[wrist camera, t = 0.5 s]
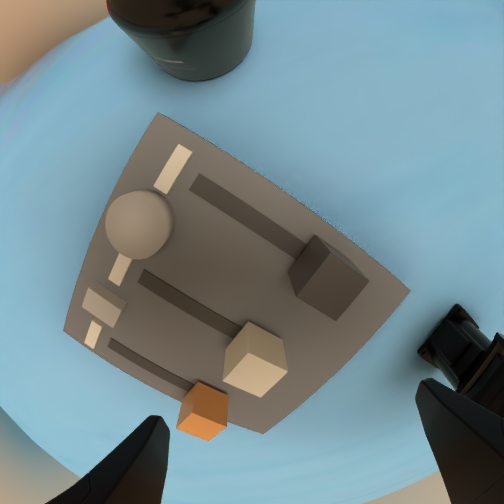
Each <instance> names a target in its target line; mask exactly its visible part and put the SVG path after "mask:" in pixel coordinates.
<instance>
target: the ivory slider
mask: <svg viewBox="0 0 504 504" xmlns="http://www.w3.org/2000/svg"><path fill="white" fill-rule="evenodd" d="M287 372H288V367H287V362H286V356H285V350H284V345H283V340H282V339H280V338H278V337H276V336H275V335H273V334H271V333H269V332H267V331H265V330H263V329H262V328H260V327H258V326H256V325H254V324H252V323H251V322H249V321H248V322H247V324H246V325H245V326H244V327H243V328H242V330H241V331H240V332H239V333H238V335H237V336H236V337H235V338H234V339H233V341H232V342H231V343H230V344H229V345H228V347H227V348H226V352H225V361H224V371H223V381H224V382H226V383H228V384H230V385H232V386H235V387H237V388H239V389H242V390H244V391H246V392H249V393H251V394H253V395H256V396H258V397H262V396H263V395H264V394H265V393H266V392H267V391H268V390H269V389H271V388H272V387H273V386H274V385H275V384H276V383H277V382H278V381H279V380H280V379H281V378H282V377H283V376H284V375H285V374H286V373H287Z"/></svg>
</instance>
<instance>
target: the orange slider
mask: <svg viewBox="0 0 504 504" xmlns="http://www.w3.org/2000/svg"><path fill="white" fill-rule="evenodd" d="M228 400H229V396H228V395H226V394H224V393H221V392H219V391H217V390H215V389H213V388H210V387H208V386H206V385H204V384H202V383H200V382H197V383H196V384H195V386H194V387H193V388H192V389H191V390H190V391H189V392H188V394H187V395H186V396H185V397H184V398H183V400H182V405H181V409H180V413H179V418H178V422H177V426H176V429H179V430H181V431H184V432H186V433H188V434H191V435H193V436H196V437H199V438H201V439H204V440H207V441H209V440H211V439H212V438H213V437H215V436H216V435H217V434H218V433H220V432H221V431H222V430H223V429H225V428H226V427H227V415H228Z"/></svg>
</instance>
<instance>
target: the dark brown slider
mask: <svg viewBox="0 0 504 504" xmlns="http://www.w3.org/2000/svg"><path fill="white" fill-rule="evenodd" d="M288 275H289V278H290V281H291V284H292V287H293V290H294V293H295V296H296V297H297V298H298V299H300V300H302V301H303V302H305V303H307V304H308V305H310V306H312V307H313V308H315V309H316V310H318V311H320V312H321V313H323V314H325V315H326V316H328V317H330V318H331V319H333V320H335V321H337V320H338V319H339V317H340V316H341V315H342V314H343V313H344V312H345V310H346V309H347V308H348V307H349V306H350V305H351V303H352V302H353V301H354V300H355V299H356V297H357V296H358V295H359V294H360V293H361V291H362V290H363V289H364V288H365V286H366V285H367V284H368V283H369V280H368V279H367V278H366V276H365V275H364V274H363V273H362V272H361V271H360V270H359V269H358V268H357V267H356V266H355V265H354V264H353V262H352V261H351V260H350V259H348V258H347V257H346V256H344V255H343V254H342V253H340V252H339V251H338V250H336V249H335V248H334V247H332V246H331V245H330V244H328V243H327V242H325V241H324V240H323V239H321V238H320V237H319V236H317V235H316V234H315V236H314V237H313V239H312V240H311V241H310V243H309V244H308V245H307V247H306V248H305V249H304V251H303V252H302V253H301V255H300V256H299V257H298V258H297V260H296V261H295V262H294V264H293V265H292V266H291V268H290V269H289V270H288Z"/></svg>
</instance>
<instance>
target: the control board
mask: <svg viewBox="0 0 504 504" xmlns="http://www.w3.org/2000/svg"><path fill="white" fill-rule="evenodd" d="M315 234H316V235H317V236H319V237H320V238H321V239H323V240H324V241H325V242H327V243H328V244H330V245H331V246H332V247H334V248H335V249H336V250H338V251H339V252H340V253H342V254H343V255H344V256H346V257H347V258H348V259H350V260H351V261H352V262H353V264H354V265H355V266H356V267H357V268H358V269H359V270H360V271H361V272H362V273H363V274H364V275H365V276H366V278H367V279H368V280H369V283H368V284H367V285H366V286H365V288H364V289H363V290H362V291H361V293H360V294H359V295H358V296H357V297H356V299H355V300H354V301H353V302H352V303H351V305H350V306H349V307H348V308H347V309H346V310H345V312H344V313H343V314H342V315H341V316H340V317H339V319H338V320H337V321H335V320H333V319H331V318H330V317H328V316H326V315H325V314H323V313H321V312H320V311H318V310H316V309H315V308H313V307H312V306H310V305H308V304H307V303H305V302H303V301H302V300H300V299H298V298H297V297H296V296H295V293H294V290H293V287H292V284H291V281H290V278H289V275H288V270H289V269H290V268H291V266H292V265H293V264H294V262H295V261H296V260H297V258H298V257H299V256H300V255H301V253H302V252H303V251H304V249H305V248H306V247H307V245H308V244H309V243H310V241H311V240H312V239H313V237H314V236H315ZM410 291H411V290H409V289H408V288H407V287H406V286H405V285H404V284H403V283H402V282H401V281H399V280H398V279H397V278H396V277H395V276H394V275H392V274H391V273H390V272H389V271H388V270H386V269H385V268H384V267H383V266H382V265H380V264H379V263H378V262H377V261H376V260H374V259H373V258H372V257H371V256H369V255H368V254H367V253H366V252H365V251H363V250H362V249H361V248H359V247H358V246H357V245H356V244H354V243H353V242H352V241H351V240H349V239H348V238H347V237H346V236H344V235H343V234H342V233H340V232H339V231H338V230H336V229H335V228H334V227H332V226H331V225H330V224H329V223H327V222H326V221H325V220H323V219H322V218H321V217H319V216H318V215H316V214H315V213H314V212H312V211H311V210H310V209H308V208H307V207H306V206H304V205H303V204H301V203H300V202H299V201H297V200H296V199H294V198H293V197H292V196H290V195H289V194H287V193H286V192H284V191H283V190H282V189H280V188H279V187H277V186H276V185H274V184H273V183H272V182H270V181H269V180H267V179H266V178H264V177H263V176H261V175H260V174H258V173H257V172H255V171H254V170H252V169H251V168H249V167H248V166H246V165H245V164H243V163H242V162H240V161H239V160H237V159H235V158H234V157H232V156H231V155H229V154H228V153H226V152H224V151H223V150H221V149H220V148H218V147H216V146H215V145H213V144H212V143H210V142H208V141H207V140H205V139H204V138H202V137H200V136H199V135H197V134H195V133H194V132H192V131H190V130H189V129H187V128H185V127H183V126H182V125H180V124H178V123H177V122H175V121H173V120H171V119H170V118H168V117H166V116H164V115H162V114H160V113H158V112H157V114H156V115H155V117H154V118H153V120H152V122H151V123H150V125H149V126H148V128H147V130H146V131H145V133H144V135H143V136H142V138H141V140H140V141H139V143H138V145H137V147H136V148H135V150H134V152H133V154H132V156H131V157H130V159H129V161H128V163H127V165H126V167H125V169H124V171H123V172H122V174H121V176H120V178H119V180H118V182H117V184H116V186H115V188H114V190H113V193H112V195H111V197H110V199H109V201H108V203H107V205H106V208H105V210H104V212H103V214H102V217H101V219H100V221H99V224H98V226H97V228H96V231H95V233H94V236H93V238H92V241H91V243H90V246H89V249H88V251H87V254H86V257H85V259H84V262H83V265H82V268H81V271H80V274H79V277H78V280H77V283H76V286H75V289H74V293H73V296H72V299H71V303H70V306H69V310H68V314H67V317H66V321H65V325H64V329H63V331H64V332H66V333H67V334H68V335H70V336H71V337H72V338H74V339H75V340H76V341H78V342H79V343H81V344H82V345H83V346H85V347H86V348H88V349H89V350H91V351H92V352H94V353H95V354H97V355H98V356H100V357H101V358H103V359H104V360H106V361H107V362H109V363H111V364H112V365H114V366H115V367H117V368H119V369H120V370H122V371H124V372H125V373H127V374H129V375H131V376H132V377H134V378H136V379H138V380H139V381H141V382H143V383H145V384H147V385H149V386H150V387H152V388H154V389H156V390H158V391H160V392H162V393H164V394H166V395H168V396H170V397H172V398H174V399H176V400H178V401H180V402H182V400H183V398H184V397H185V396H186V395H187V394H188V392H189V391H190V390H191V389H192V388H193V387H194V386H195V384H196V383H197V382H200V383H202V384H204V385H206V386H208V387H210V388H213V389H215V390H217V391H219V392H221V393H224V394H226V395H228V396H229V400H228V415H227V422H230V423H233V424H235V425H238V426H241V427H244V428H247V429H250V430H253V431H256V432H259V433H262V434H264V433H265V432H266V431H268V430H269V429H270V428H272V427H273V426H274V425H276V424H277V423H278V422H280V421H281V420H282V419H283V418H285V417H286V416H287V415H289V414H290V413H291V412H292V411H293V410H295V409H296V408H297V407H298V406H300V405H301V404H302V403H303V402H304V401H305V400H307V399H308V398H309V397H310V396H311V395H312V394H314V393H315V392H316V391H317V390H318V389H319V388H320V387H321V386H323V385H324V384H325V383H326V382H327V381H328V380H329V379H330V378H331V377H332V376H333V375H334V374H335V373H337V372H338V371H339V370H340V369H341V368H342V367H343V366H344V365H345V364H346V363H347V362H348V361H349V360H350V359H351V358H352V357H353V356H354V355H355V354H356V353H357V352H358V351H359V350H360V349H361V348H362V346H363V345H364V344H365V343H366V342H367V341H368V340H369V339H370V338H371V337H372V336H373V335H374V334H375V332H376V331H377V330H378V329H379V328H380V327H381V326H382V325H383V323H384V322H385V321H386V320H387V319H388V318H389V317H390V315H391V314H392V313H393V312H394V311H395V309H396V308H397V307H398V306H399V305H400V303H401V302H402V301H403V300H404V298H405V297H406V296H407V295H408V293H409V292H410ZM248 321H249V322H251V323H252V324H254V325H256V326H258V327H260V328H262V329H263V330H265V331H267V332H269V333H271V334H273V335H275V336H276V337H278V338H280V339H282V340H283V345H284V350H285V356H286V362H287V367H288V372H287V373H286V374H285V375H284V376H283V377H282V378H281V379H280V380H279V381H278V382H277V383H276V384H275V385H274V386H273V387H272V388H271V389H269V390H268V391H267V392H266V393H265V394H264V395H263V396H262V397H258V396H256V395H253V394H251V393H249V392H246V391H244V390H242V389H239V388H237V387H235V386H232V385H230V384H228V383H226V382H224V381H223V371H224V361H225V352H226V348H227V347H228V345H229V344H230V343H231V342H232V341H233V339H234V338H235V337H236V336H237V335H238V333H239V332H240V331H241V330H242V328H243V327H244V326H245V325H246V324H247V322H248Z"/></svg>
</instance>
